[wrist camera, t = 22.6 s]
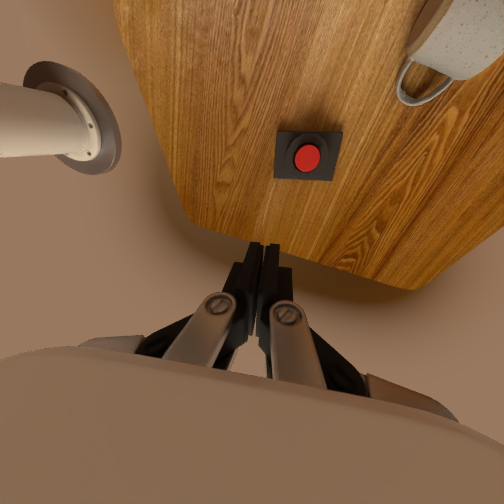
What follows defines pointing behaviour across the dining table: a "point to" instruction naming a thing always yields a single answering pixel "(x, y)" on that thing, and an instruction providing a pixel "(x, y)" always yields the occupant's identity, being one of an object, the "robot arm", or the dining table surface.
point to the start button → (307, 158)
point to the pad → (294, 140)
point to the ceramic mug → (454, 41)
